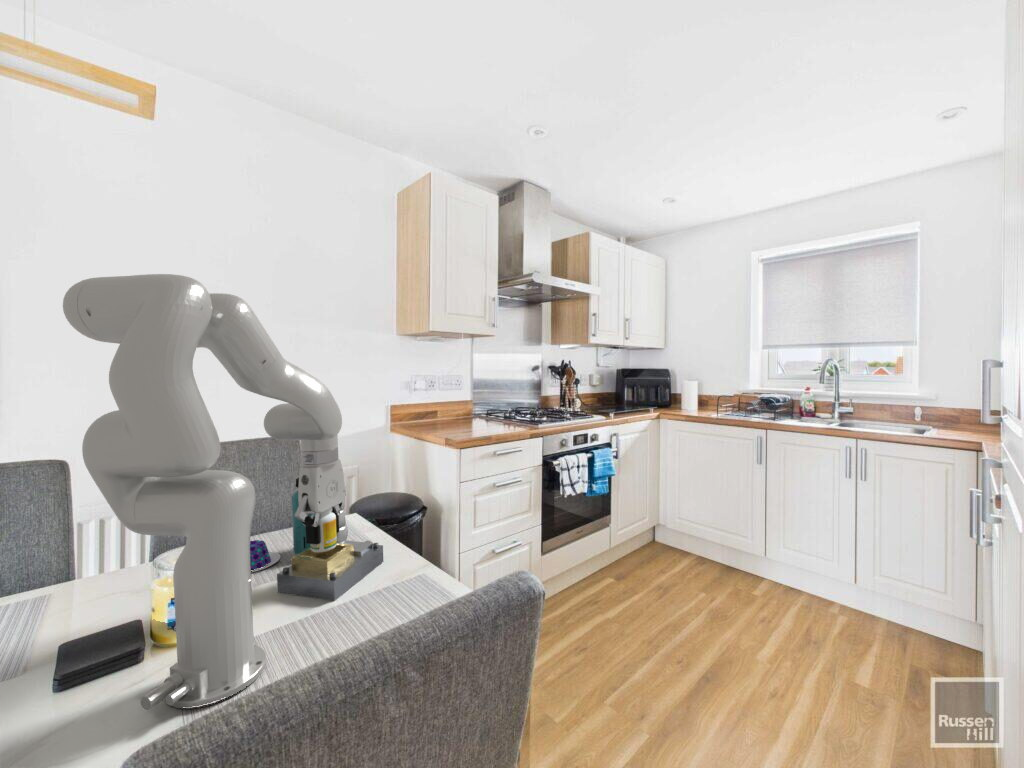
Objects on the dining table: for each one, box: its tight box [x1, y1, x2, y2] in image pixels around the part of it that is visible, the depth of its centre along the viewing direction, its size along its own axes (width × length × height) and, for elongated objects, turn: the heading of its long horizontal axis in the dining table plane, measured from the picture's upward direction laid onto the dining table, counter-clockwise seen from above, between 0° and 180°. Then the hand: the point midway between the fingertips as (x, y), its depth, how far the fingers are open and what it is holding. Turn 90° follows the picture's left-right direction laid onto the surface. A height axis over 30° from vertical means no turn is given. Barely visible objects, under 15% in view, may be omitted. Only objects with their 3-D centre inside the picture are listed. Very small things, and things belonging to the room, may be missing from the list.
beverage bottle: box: [290, 477, 314, 555], centre depth 108 cm, size 6×7×20 cm
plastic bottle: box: [336, 486, 349, 542], centre depth 115 cm, size 6×7×20 cm
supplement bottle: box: [310, 508, 337, 553], centre depth 95 cm, size 5×5×10 cm
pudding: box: [250, 539, 281, 573], centre depth 104 cm, size 12×12×5 cm
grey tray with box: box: [276, 540, 384, 601], centre depth 99 cm, size 21×14×6 cm, turn 165°
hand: (323, 536), depth 95 cm, fingers closed on supplement bottle, 5 cm apart
